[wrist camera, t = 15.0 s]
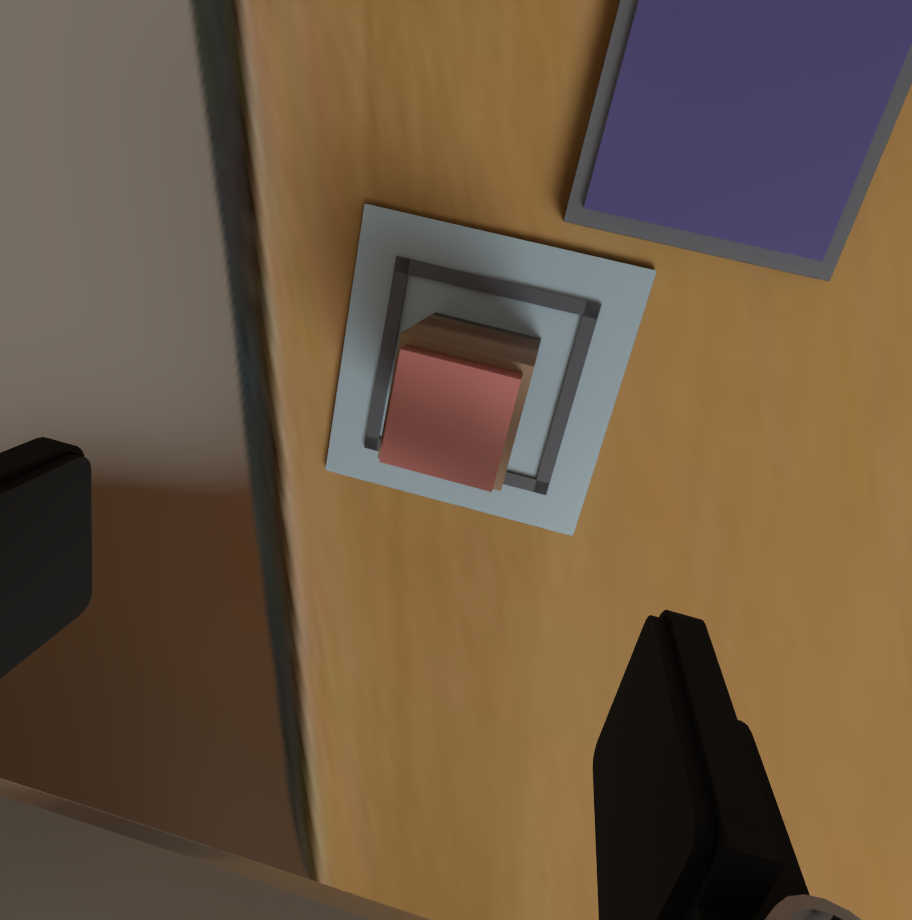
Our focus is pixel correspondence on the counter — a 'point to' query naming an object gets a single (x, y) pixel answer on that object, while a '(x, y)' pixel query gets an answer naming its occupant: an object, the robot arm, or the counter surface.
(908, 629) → the counter surface
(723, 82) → the ink pad
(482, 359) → the stamp
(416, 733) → the counter surface
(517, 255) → the light grey flat square
